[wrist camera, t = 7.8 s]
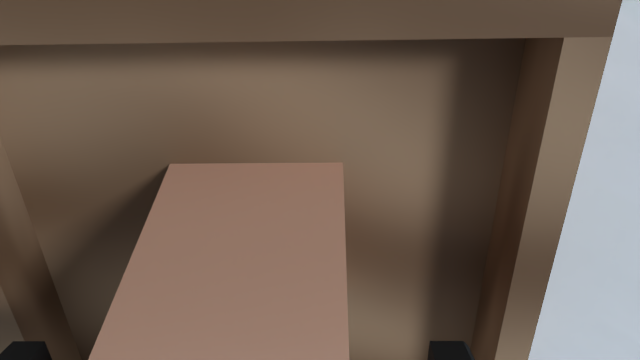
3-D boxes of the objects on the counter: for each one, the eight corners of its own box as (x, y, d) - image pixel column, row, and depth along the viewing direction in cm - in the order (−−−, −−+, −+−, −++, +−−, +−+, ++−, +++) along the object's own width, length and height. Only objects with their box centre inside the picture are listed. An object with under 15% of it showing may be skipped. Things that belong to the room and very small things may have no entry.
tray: (483, 380, 19) (502, 454, 17) (76, 380, 19) (45, 453, 17) (573, -49, 12) (625, -12, 10) (-85, -38, 12) (-172, 0, 10)
